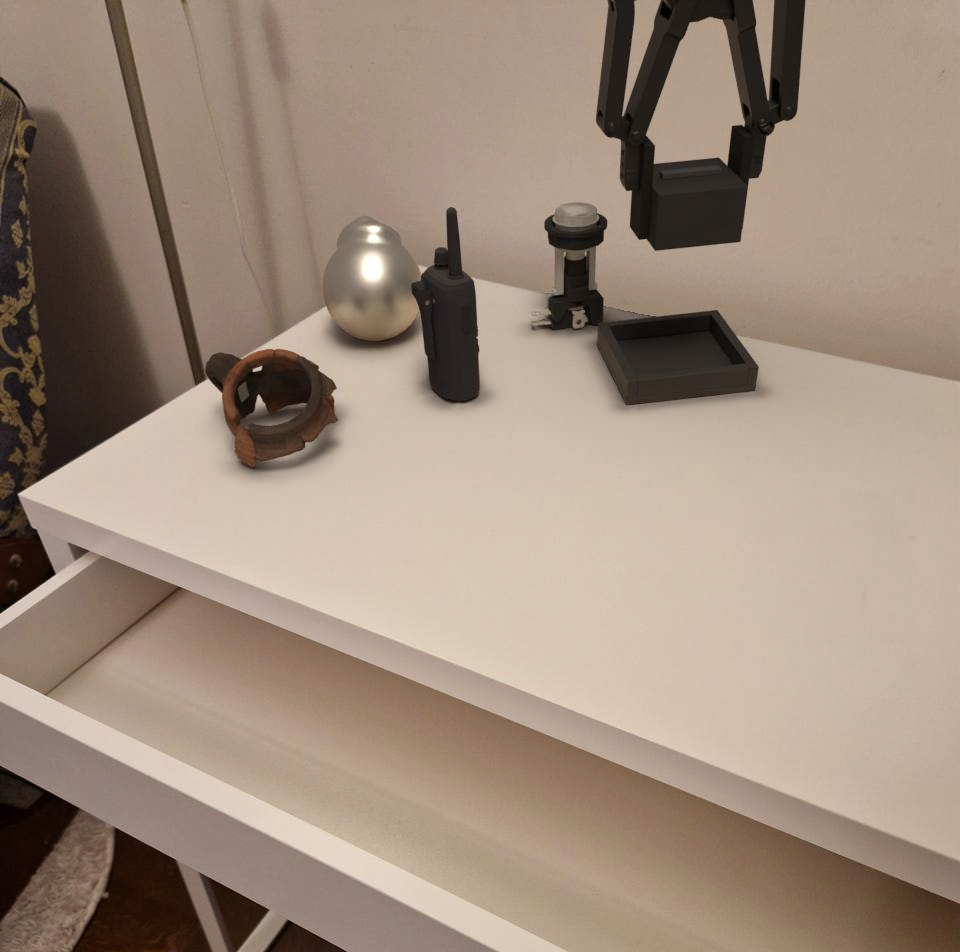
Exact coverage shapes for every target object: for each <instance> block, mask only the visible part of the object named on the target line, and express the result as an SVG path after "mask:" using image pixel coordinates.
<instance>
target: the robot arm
mask: <svg viewBox="0 0 960 952" xmlns="http://www.w3.org/2000/svg"><path fill="white" fill-rule="evenodd" d="M636 1H637V0H607V5H608V6H607V15H606V23H605V32H604V33H605V34H604V41H603V42H604V43H603V52H602V60H601V68H600V76H599V77H600V78H599V84H598V85H599V86H598V95H597V104H596V105H597V106H596V113H595V124H596V125H597V127H598V128H599V129H600V131H601V132H602V133H603V134H604V135H605V136H606V137H607V138H610V139H612V138H613V139H617V140H620V157H619V160H620V161H619V181H620V183H621V186H622V187H623V189H624V190H625V191H626V192H631V199H630V213H629V214H630V215H629V228H630V229H631V231H632V233H633V234H634V236H635V237H636V238H637V240H639V241H642V240H647V239H648V237H649V222H650V207H651V192H652V183H653V169H654V164H655V153H656V152H655V151H656V145H655V144H654V142H653V141H652V140H651V139H650V138H649V137H648V136H647V134H648V130H649V128H650V125H651V122H652V120H653V118H654V115H655V111H656V109H657V106H658V103H659V101H660V98H661V95H662V93H663V89H664V87H665V84H666V81H667V78H668V75H669V73H670V70H671V67H672V64H673V62H674V59H675V56H676V53H677V51H678V48H679V45H680V43H681V41H682V40H683V39H684V38H685V36H686V34H687V31H688V28H689V26H690V23H698V22H701V21H704V20H706V19H709V18H713V19H717V20H721V21H722V22H723V25H724V27H725V30H726V36H727V41H728V46H729V50H730V57H731V63H732V68H733V73H734V77H735V83H736V87H737V92H738V93H737V94H738V98H739V104H740V109H741V114H742V120H743V122H744V125H743V124H736V125H731V128H730V129H731V130H730V139H729V146H728V147H729V148H728V156H727V164H726V165H727V166H728V167H729V168H730V169H731V170H732V171H733V172H734V173H735V174H736V175H737V176H738V177H739V178H740V179H741V180H742V181H743V182H744V183H745V184H746V185H747V186H748V188H747V192H748V190H749V183H750V182H749V181H750V180H752V179H759V177H760V176H761V174H762V171H763V166H764V158H765V157H764V156H765V153H766V152H765V151H766V145H767V137H769V136H770V135H772V134H773V132H774V131H775V128H776V125H777V124H778V123H781V122H789V121H792V120H793V119H794V118H795V117H796V115H797V114H798V108H799V94H800V79H801V67H802V54H803V53H802V52H803V40H804V39H803V38H804V27H805V25H804V24H805V13H806V11H805V10H806V0H773V15H772V16H773V17H772V34H771V52H770V70H769V71H770V72H769V85H768V86H769V87H768V88H769V89H768V95H767V90H766V89H767V88H766V82H765V77H764V72H763V65H762V60H761V54H760V48H759V41H758V37H757V30H756V27H757V17H756V11H755V5H754V0H660V1H659V5H658V8H657V11H656V13H655V16H654V20H653V29H652V32H651V35H650V38H649V40H648V44H647V47H646V50H645V52H644V55H643V58H642V61H641V64H640V67H639V69H638V71H637V76H636V78H635V81H634V84H633V87H632V90H631V93H630V96H629V98H628V101H627V104H626V107H625V110H624V106H625V99H626V98H625V97H626V89H627V81H628V76H629V75H628V73H629V68H630V67H629V66H630V60H631V59H630V58H631V51H632V44H633V43H632V42H633V35H634V27H635V16H636V4H635V2H636ZM623 112H624V113H623ZM747 198H748V195H747V196H746V200H747ZM746 205H747V203H746V204H745V208H746V207H747V206H746ZM745 213H746V210H745V211H744V216H745V215H746V214H745ZM744 221H745V218H744V219H743V223H744ZM743 229H744V226H743V227H742V230H743Z"/></svg>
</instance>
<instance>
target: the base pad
mask: <svg viewBox="0 0 960 952" xmlns="http://www.w3.org/2000/svg"><path fill="white" fill-rule="evenodd" d="M596 338H597V339H596V346H597V348H598V350H599V352H600V354H601V356H602V358H603V360H604V362H605V364H606V366H607V368H608V370H609V372H610V374H611V376H612V378H613V380H614V382H615V384H616V386H617V388H618V390H619V393H620V395H621V396H622V399H623V400H624V403H625V404H626V406H629V405H638V404H648V403H656V402H665V401H673V400H682V399H690V398H691V399H692V398H701V397H707V396H708V397H709V396H717V395H724V394H725V395H726V394H734V393H743V392H752V391H756V387H757V380H758V374H759V367H760V366H759V365H758V363H757V362H756V361H755V359H754V358H753V356H752V355H751V354H750V353H749V351H748V350H747V348H746V347H745V346H744V344H743V343H742V342H741V340H740V339H739V337H738V336H737V335H736V334H735V332H734V330H733V329H732V328H731V326H730V325H729V324H728V322H727V321H726V320H725V319H724V317H723V315H722V314H721V313H720V312H719V310H718V309H713V310H704V311H695V312H686V313H685V312H684V313H677V314H668V315H659V316H650V317H649V316H648V317H639V318H631V319H621V320H613V321H603V322H600V323H598V325H597V334H596Z"/></svg>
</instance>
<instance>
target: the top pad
mask: <svg viewBox="0 0 960 952" xmlns="http://www.w3.org/2000/svg"><path fill="white" fill-rule="evenodd" d="M747 188H748V189H749V185H748V186H747V185H746V184H745V183H744V182H743V181H742V180H741V179H740V178H739V177H738V176H737V175H736V174H735V173H734V172H733V171H732V170H731V169H730V168H729V167H728V166H727V164H726V163H725V162H724V161H723V160H722V159H721V157H709V158H700V159H690V160H679V161H670V162H669V161H667V162H660V163H659V162H658V163H654V169H653V183H652V192H651V207H650V222H649V237H648V239H646V240H647V242H648V244H649V245H650V246H651V247H652V249H653V250H654V251H655V252H659V251H668V250H678V249H686V248H697V247H704V246H705V247H706V246H715V245H716V246H717V245H724V244H735V243H741V242H742V234H743V229H742V227H743V228H744V222H743V219H744V220H745V215H744V211H745V212H746V207H745V204H746V205H747V199H746V196H747V197H748V191H747Z"/></svg>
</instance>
